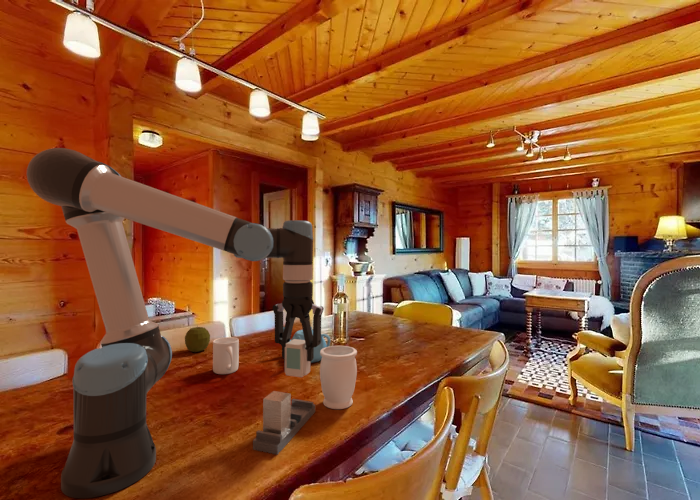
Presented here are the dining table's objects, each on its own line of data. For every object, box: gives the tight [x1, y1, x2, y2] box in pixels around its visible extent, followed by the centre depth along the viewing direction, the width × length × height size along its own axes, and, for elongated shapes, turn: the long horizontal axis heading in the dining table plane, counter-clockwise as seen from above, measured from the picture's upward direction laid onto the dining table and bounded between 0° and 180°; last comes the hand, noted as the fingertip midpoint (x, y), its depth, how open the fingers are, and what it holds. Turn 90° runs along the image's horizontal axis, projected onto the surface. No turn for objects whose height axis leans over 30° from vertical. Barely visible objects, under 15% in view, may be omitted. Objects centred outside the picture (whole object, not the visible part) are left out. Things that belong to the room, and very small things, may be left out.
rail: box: [252, 390, 316, 456], centre depth 83 cm, size 20×6×10 cm, turn 162°
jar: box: [319, 345, 358, 410], centre depth 97 cm, size 11×10×15 cm
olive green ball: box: [184, 325, 211, 353], centre depth 144 cm, size 10×10×11 cm
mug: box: [212, 336, 240, 375], centre depth 120 cm, size 9×12×11 cm
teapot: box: [283, 326, 331, 364], centre depth 137 cm, size 17×19×12 cm
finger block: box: [285, 339, 306, 378], centre depth 88 cm, size 5×4×8 cm
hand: (297, 371), depth 88 cm, fingers closed on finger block, 4 cm apart
